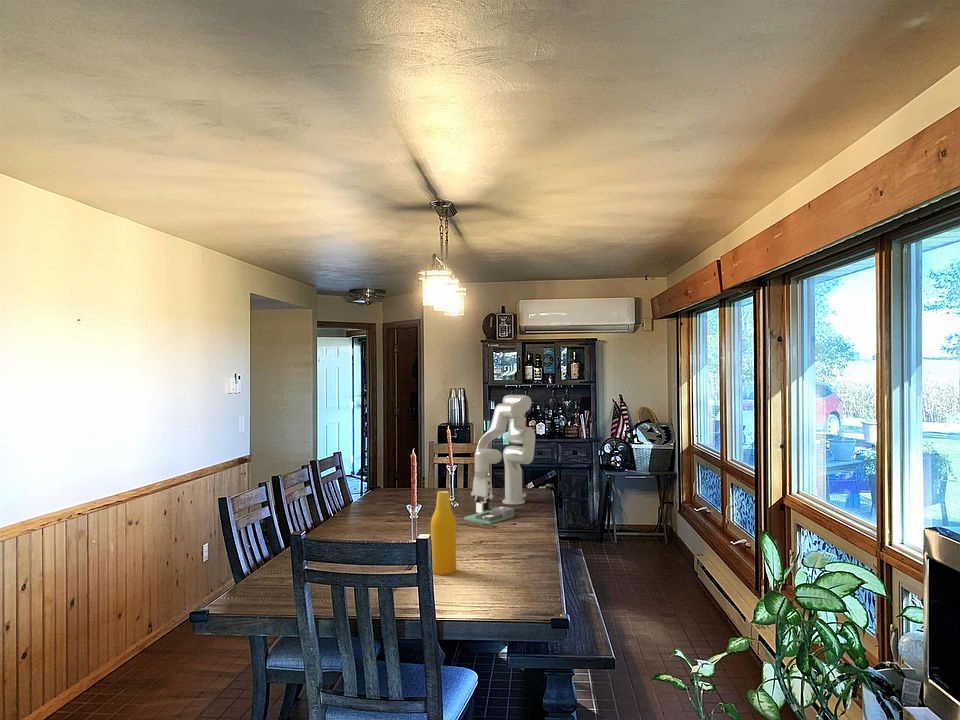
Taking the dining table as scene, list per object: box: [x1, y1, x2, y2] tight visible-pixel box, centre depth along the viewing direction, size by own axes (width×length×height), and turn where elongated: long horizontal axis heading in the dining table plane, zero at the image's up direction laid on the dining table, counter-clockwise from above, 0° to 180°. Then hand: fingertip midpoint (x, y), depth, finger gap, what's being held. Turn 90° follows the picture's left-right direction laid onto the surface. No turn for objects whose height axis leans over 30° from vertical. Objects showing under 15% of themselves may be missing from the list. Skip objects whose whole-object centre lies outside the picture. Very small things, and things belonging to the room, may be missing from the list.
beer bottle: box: [430, 490, 457, 576], centre depth 234 cm, size 9×9×29 cm
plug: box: [475, 500, 488, 513], centre depth 333 cm, size 5×4×5 cm
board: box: [463, 509, 515, 525], centre depth 319 cm, size 20×16×1 cm
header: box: [476, 512, 502, 521], centre depth 314 cm, size 10×9×2 cm
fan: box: [491, 506, 515, 517], centre depth 321 cm, size 8×8×4 cm
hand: (482, 509), depth 333 cm, fingers open, 4 cm apart
